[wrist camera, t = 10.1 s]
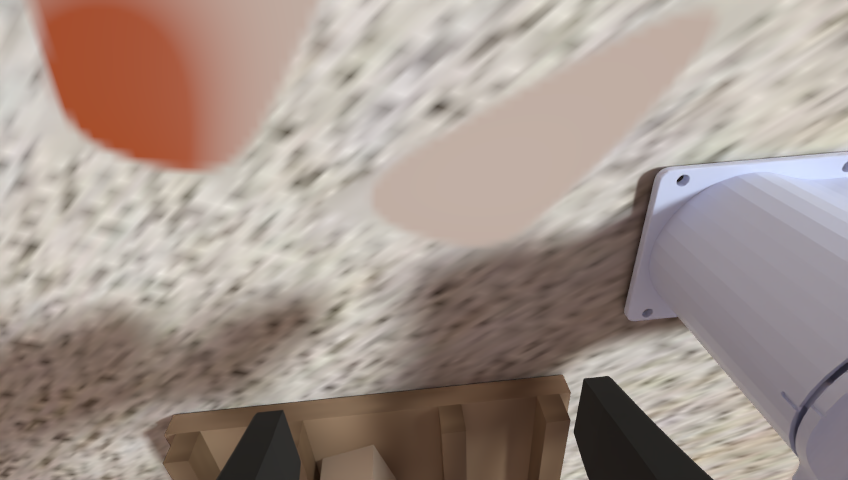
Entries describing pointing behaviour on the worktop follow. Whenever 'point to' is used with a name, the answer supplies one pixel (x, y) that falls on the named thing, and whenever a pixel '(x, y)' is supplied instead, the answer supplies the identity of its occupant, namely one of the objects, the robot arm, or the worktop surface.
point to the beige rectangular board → (356, 466)
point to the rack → (401, 432)
